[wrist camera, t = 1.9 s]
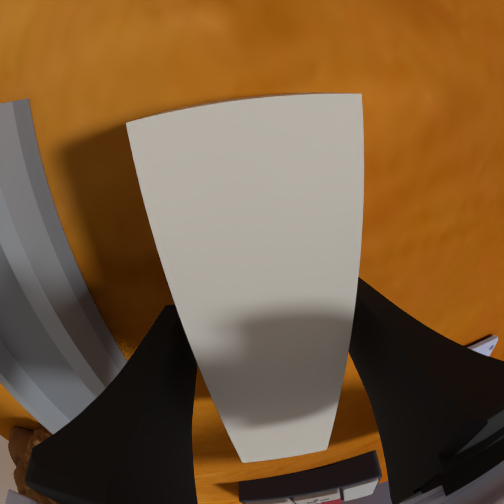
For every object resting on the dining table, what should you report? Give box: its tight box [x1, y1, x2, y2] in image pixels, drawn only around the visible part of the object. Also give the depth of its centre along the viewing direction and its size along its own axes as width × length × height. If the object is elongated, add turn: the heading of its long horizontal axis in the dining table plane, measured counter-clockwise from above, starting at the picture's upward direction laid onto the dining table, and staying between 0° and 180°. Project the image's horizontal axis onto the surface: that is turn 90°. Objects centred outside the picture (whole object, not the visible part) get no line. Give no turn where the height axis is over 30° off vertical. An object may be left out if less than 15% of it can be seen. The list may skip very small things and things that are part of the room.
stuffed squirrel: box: [8, 427, 60, 504], centre depth 14 cm, size 10×14×13 cm
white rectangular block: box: [126, 92, 364, 463], centre depth 10 cm, size 14×4×4 cm, turn 7°
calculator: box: [239, 450, 382, 504], centre depth 26 cm, size 11×4×15 cm
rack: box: [0, 99, 127, 434], centre depth 10 cm, size 18×8×2 cm, turn 7°
